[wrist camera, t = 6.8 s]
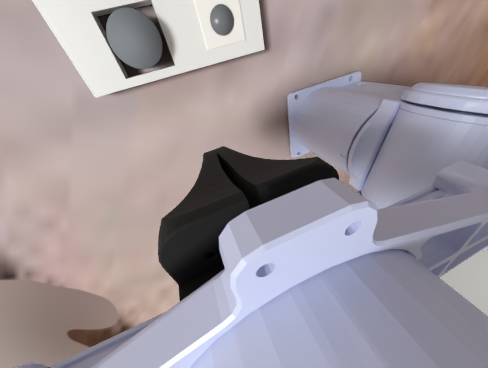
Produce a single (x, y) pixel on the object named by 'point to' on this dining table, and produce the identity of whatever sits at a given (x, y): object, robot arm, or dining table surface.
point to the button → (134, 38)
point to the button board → (173, 28)
